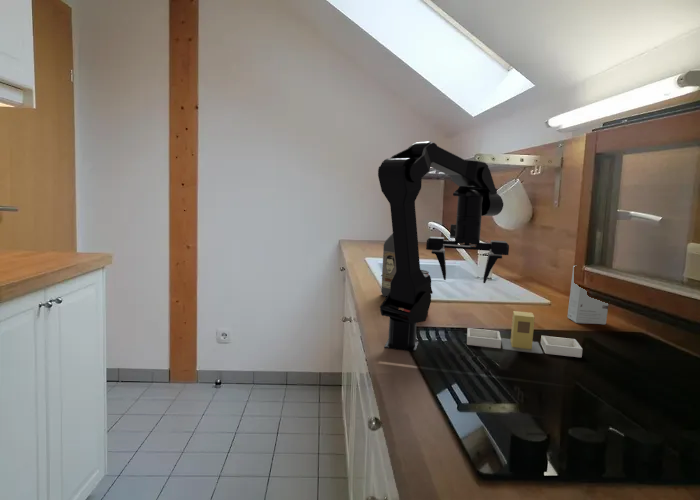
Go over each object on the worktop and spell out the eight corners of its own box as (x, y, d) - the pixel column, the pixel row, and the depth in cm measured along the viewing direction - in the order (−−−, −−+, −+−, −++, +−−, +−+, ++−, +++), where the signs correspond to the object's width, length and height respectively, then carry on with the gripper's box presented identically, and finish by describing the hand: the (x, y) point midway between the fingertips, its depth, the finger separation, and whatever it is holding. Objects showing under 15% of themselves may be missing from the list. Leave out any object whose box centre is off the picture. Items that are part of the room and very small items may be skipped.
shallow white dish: (500, 350, 103) (501, 340, 103) (466, 346, 105) (467, 336, 104) (498, 340, 110) (499, 331, 110) (466, 337, 112) (467, 327, 111)
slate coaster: (543, 355, 101) (543, 353, 101) (503, 351, 103) (503, 348, 102) (537, 344, 108) (537, 342, 108) (500, 340, 110) (500, 338, 110)
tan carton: (531, 349, 103) (534, 317, 102) (512, 347, 104) (514, 315, 103) (529, 343, 107) (532, 312, 106) (510, 341, 108) (513, 310, 107)
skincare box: (576, 323, 128) (581, 268, 126) (566, 317, 134) (571, 264, 132) (607, 325, 128) (614, 269, 126) (596, 319, 134) (602, 266, 132)
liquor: (395, 291, 159) (400, 200, 155) (417, 296, 153) (423, 201, 149) (377, 295, 152) (381, 199, 149) (400, 300, 146) (405, 201, 143)
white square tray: (581, 359, 99) (582, 348, 99) (545, 355, 101) (546, 344, 101) (574, 348, 106) (575, 339, 106) (540, 345, 108) (541, 335, 108)
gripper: (507, 216, 119) (502, 278, 121) (431, 212, 124) (427, 272, 126) (511, 219, 109) (505, 287, 111) (428, 214, 113) (424, 280, 115)
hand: (464, 281), depth 116 cm, fingers open, 9 cm apart
